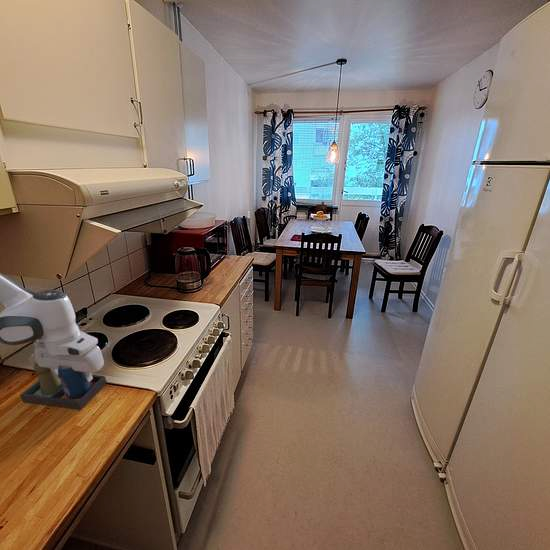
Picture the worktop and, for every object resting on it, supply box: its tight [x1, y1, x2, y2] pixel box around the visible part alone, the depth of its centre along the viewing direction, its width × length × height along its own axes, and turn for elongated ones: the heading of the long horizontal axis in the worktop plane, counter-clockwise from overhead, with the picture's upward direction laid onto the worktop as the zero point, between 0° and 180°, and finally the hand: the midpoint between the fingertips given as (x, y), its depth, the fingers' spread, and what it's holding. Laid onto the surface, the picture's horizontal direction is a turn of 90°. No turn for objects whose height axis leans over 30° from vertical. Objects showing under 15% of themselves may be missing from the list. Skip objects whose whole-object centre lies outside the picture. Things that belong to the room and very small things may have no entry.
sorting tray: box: [19, 374, 108, 411], centre depth 92 cm, size 20×12×3 cm, turn 82°
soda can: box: [58, 366, 91, 399], centre depth 89 cm, size 7×7×12 cm
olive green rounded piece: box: [33, 361, 62, 396], centre depth 91 cm, size 6×6×11 cm
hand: (75, 378), depth 90 cm, fingers open, 8 cm apart
